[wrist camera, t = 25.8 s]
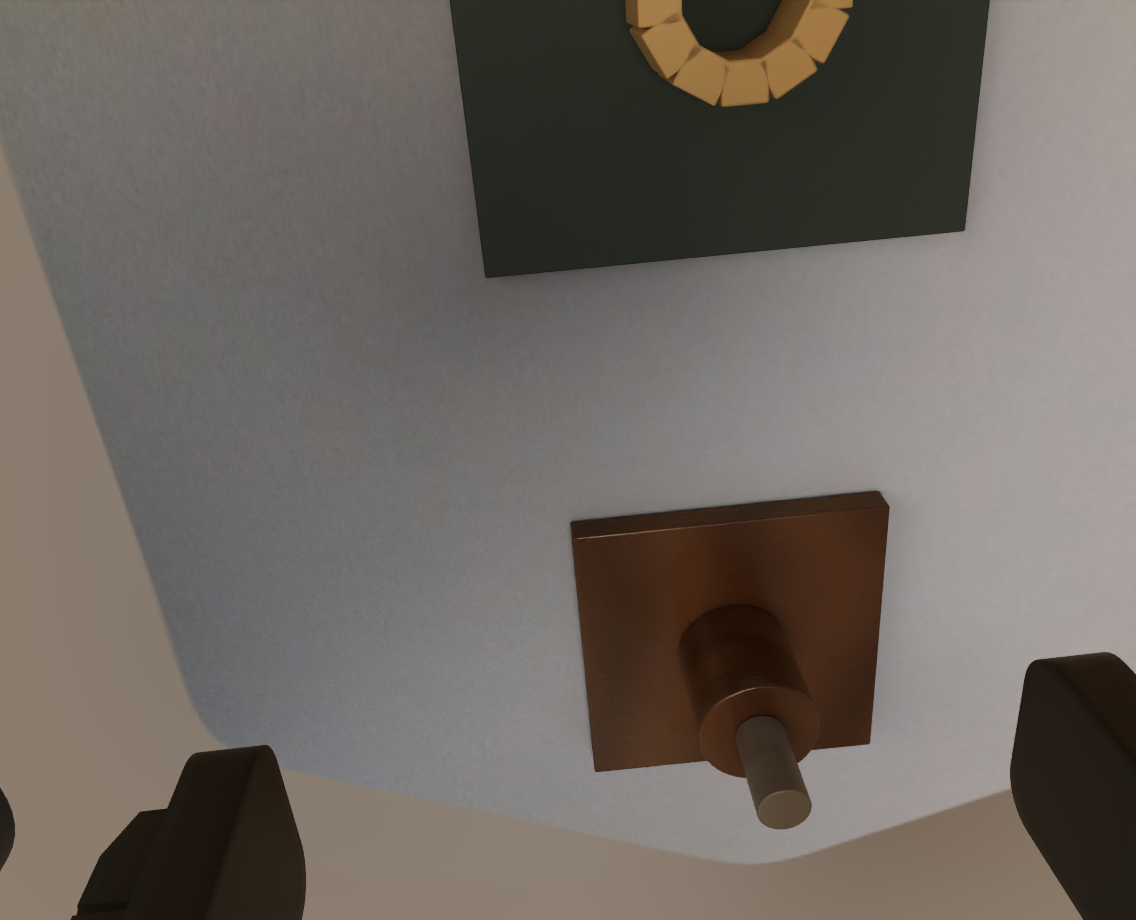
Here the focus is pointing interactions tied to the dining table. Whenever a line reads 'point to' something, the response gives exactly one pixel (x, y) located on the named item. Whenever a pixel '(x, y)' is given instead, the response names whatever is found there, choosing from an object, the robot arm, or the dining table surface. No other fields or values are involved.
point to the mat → (710, 134)
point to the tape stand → (733, 638)
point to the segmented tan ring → (745, 74)
